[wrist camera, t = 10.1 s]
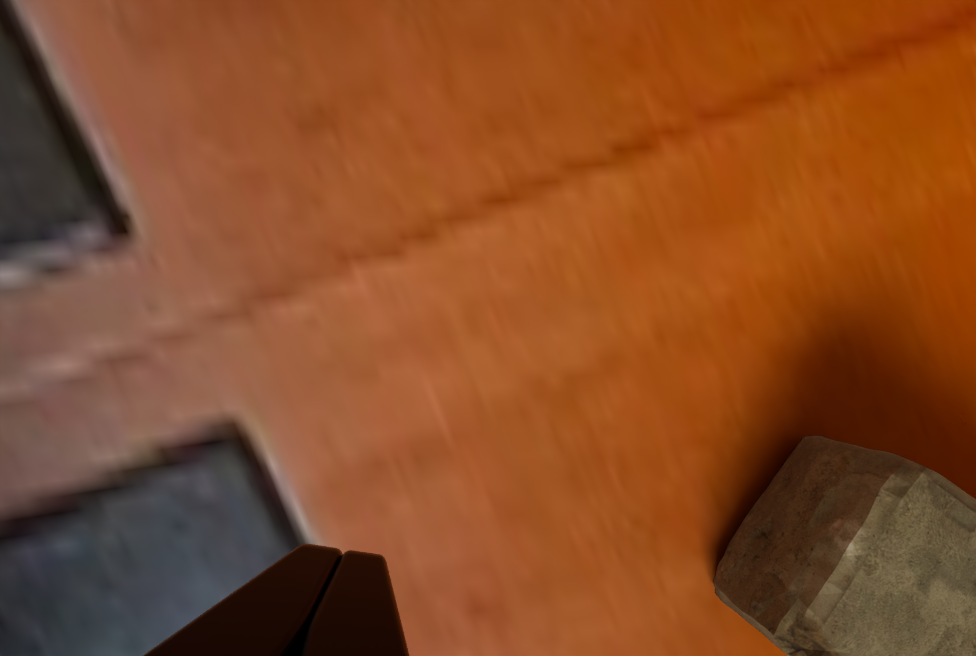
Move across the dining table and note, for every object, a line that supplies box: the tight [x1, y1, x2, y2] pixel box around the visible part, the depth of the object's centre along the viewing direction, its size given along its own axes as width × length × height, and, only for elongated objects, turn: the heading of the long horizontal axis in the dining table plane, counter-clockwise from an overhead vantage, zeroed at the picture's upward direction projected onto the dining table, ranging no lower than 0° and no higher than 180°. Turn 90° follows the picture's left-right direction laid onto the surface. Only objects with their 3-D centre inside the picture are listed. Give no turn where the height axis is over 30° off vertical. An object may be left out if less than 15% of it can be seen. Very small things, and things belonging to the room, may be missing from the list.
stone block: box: [713, 435, 976, 656], centre depth 21 cm, size 6×12×5 cm, turn 58°
